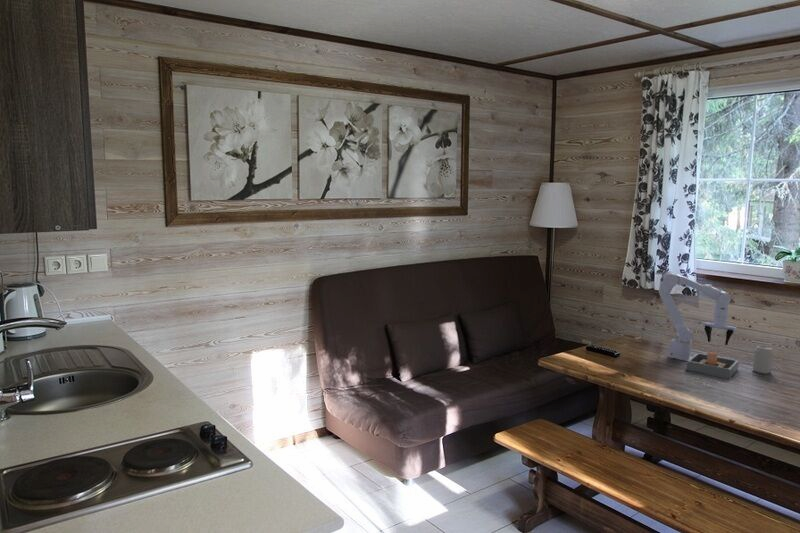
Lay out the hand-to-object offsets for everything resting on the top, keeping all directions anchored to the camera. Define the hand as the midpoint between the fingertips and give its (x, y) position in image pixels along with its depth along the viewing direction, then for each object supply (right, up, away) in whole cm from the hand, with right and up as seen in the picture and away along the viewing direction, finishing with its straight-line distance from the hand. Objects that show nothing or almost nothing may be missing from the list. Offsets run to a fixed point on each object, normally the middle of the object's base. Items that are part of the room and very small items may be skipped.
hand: (717, 343), depth 291 cm
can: (+14, -12, -13) cm, 22 cm away
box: (-9, -11, -12) cm, 19 cm away
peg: (-10, -11, -13) cm, 20 cm away
